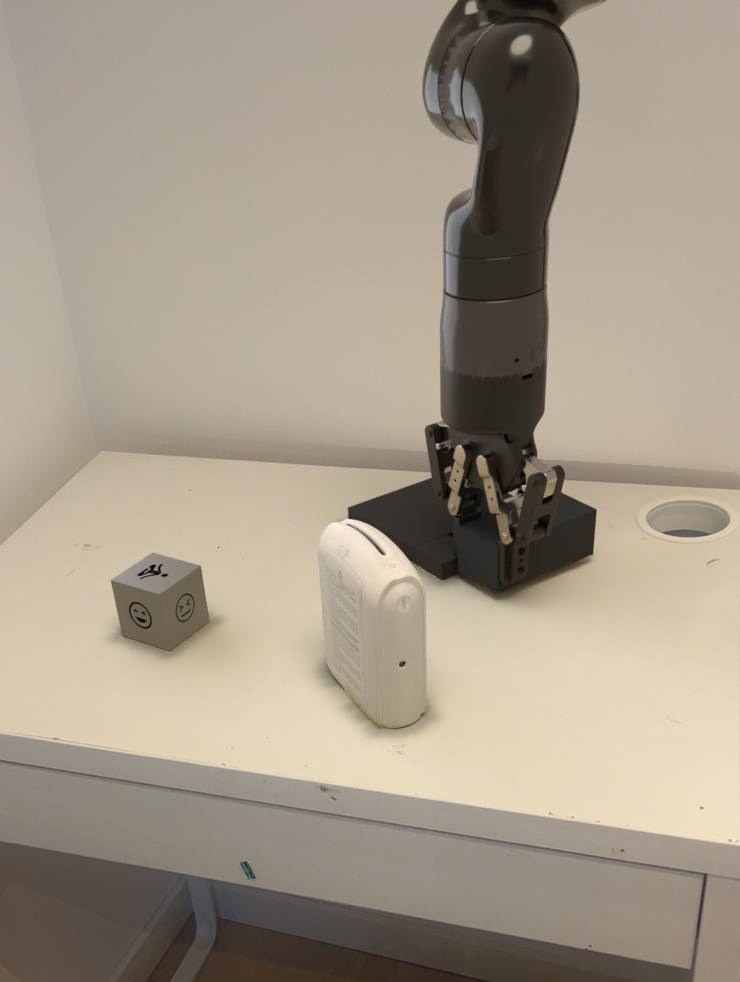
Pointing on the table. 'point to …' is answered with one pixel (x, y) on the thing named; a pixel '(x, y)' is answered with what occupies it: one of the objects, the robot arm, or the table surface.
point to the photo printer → (373, 622)
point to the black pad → (414, 525)
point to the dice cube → (160, 601)
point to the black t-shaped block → (545, 554)
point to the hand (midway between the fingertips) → (489, 567)
